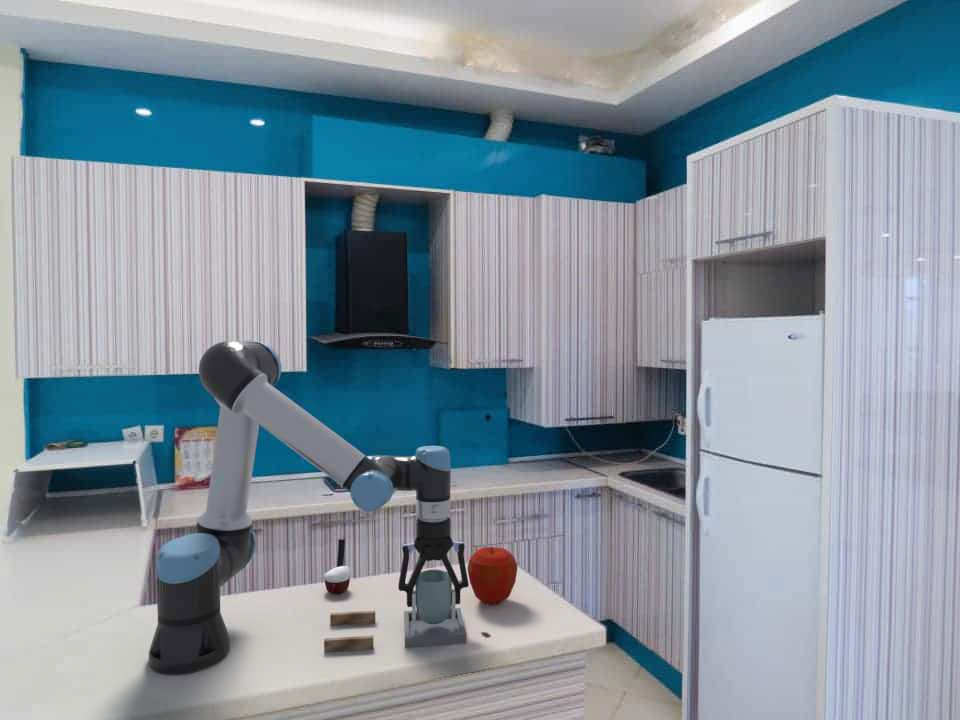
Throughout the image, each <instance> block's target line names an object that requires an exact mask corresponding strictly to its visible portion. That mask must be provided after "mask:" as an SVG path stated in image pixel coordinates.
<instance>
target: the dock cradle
mask: <svg viewBox="0 0 960 720" xmlns="http://www.w3.org/2000/svg"><path fill="white" fill-rule="evenodd" d="M462 613H463V612H462V609H461V607H455V621H452V618H451V609H450V613H449V616H448V617H447V619H446V620H445V621H443V622H441V623H439V624H427V623H425V622H423V621H422V620H421V619H420V618H419V616H418V613H417V609H416V623H412V610H403V623H404V624H403V626H404V627H403V628H404V630H403V631H404V648H414V647H415V648H418V647H430V646H431V647H432V646H433V647H434V646H435V647H436V646H446V645H462V644H463V645H464V644H467V630H466V627H465V622H464V616H463V614H462Z"/></svg>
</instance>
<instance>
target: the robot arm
mask: <svg viewBox="0 0 960 720" xmlns="http://www.w3.org/2000/svg"><path fill="white" fill-rule="evenodd" d="M198 375H199V376H198V377H199V378H200V379H199V380H200V382H201V384H202V386H203V387H204V389H205V390H206V391H207V392H208V393H209V394H210V396H212V397H213V398H214V400H215V401H216V403H217V404H218V405H219V407H220V408H219V416H218V422H217V428H216V430H217V431H216V436H215V437H216V439H215V443H214V450H213V458H212V466H211V473H210V479H209V486H208V487H209V488H208V495H207V500H206V501H207V502H206V507H205V511H204V512H203V513H202V514H201V515H200V516H198V517H197V518H196V519H197V520H196V527H195V533H190V534H185V535H182V536H181V537H176V538H173V539H171V540H169V541H168V542H166V543H165V544H163V545H162V546H161V548H160V549H159V551H158V553H156V554H157V555H156V563H155V564H156V565H155V574H156V600H157V603H156V604H157V605H156V606H157V626H156V628H155V631H154V634H153V638H152V639H151V640H152V641H151V645H150V647H149V650H148V666H149V668H150V669H151V670H152V671H153V672H156V673H159V674H162V675H184V674H188V673H189V674H191V673H194V672H198V671H201V670H202V671H203V670H205V669H207V668H210V667H212V666H214V665H215V664H218V663H219V662H220V661H222V660H224V658H226V657H227V656H228V654H229V653H230V650H231V637H230V633H229V630H228V629H227V627H226V626H227V625H226V623H225V621H224V618H223V616H222V612H221V587H222V586H224V585H225V584H226V583H227V582H229V581H230V580H231V579H232V578H233V577H234V576H236V575H237V574H239V573H240V572H241V571H243V569H245V568H246V566H247V565H248V564H249V563H250V561H251V560H252V558H253V556H254V554H255V551H256V547H257V540H256V534H255V532H254V531H253V530H252V525H253V519H252V518H251V517H250V515H249V514H248V512H247V511H248V506H249V500H250V491H251V484H252V476H253V472H254V471H253V470H254V464H255V463H254V462H255V456H256V449H257V444H258V443H257V442H258V436H259V430H260V429H259V428H260V426H261V427H262V428H263V429H264V430H266V431H267V432H268V433H270V434H271V435H272V436H274V437H276V439H277V440H279V441H281V442H282V443H283V444H285V445H286V446H287V447H289V448H290V449H291V450H293V451H294V452H296V453H297V454H298V455H299V456H301V457H302V458H303V459H304V460H306V461H308V463H310V464H311V465H313V466H314V467H315V468H317V469H318V470H320V472H322V473H324V474H325V475H326V476H328V477H329V478H330V479H332V480H333V481H334V482H335V483H337V484H338V485H340V486H341V487H342V488H344V489H345V490H346V491H347V492H349V493H350V497H351V500H352V502H353V504H354V505H355V506H356V507H357V508H358V509H360V510H362V511H366V512H373V511H376V510H380V509H381V508H382V507H384V506H385V505H386V504H388V503H389V502H390V501H391V499H392V497H393V495H394V494H395V493H396V492H398V491H399V492H400V491H403V492H407V491H408V492H412V491H414V492H415V495H416V496H415V497H416V498H415V506H416V507H415V508H416V509H415V511H416V512H415V513H416V514H415V515H416V517H417V519H416V521H415V523H416V524H415V526H416V527H415V529H416V534H415V535H416V536H415V540H414V542H410V543H408V542H403V543H402V547H401V548H402V554H403V555H402V562H401V568H400V574H399V579H398V591H400V592H405V593H406V607H407V608H411V611H412V623H416V610H417V609H416V592H415V584H416V582H417V579H418V577H419V575H420V573H421V572H422V571H423V568H424V566H425V564H426V562H431V561H442V563H443V565H444V567H445V571H446V572H448V574H449V577H451V581H452V585H453V586H452V599H451V618H452V621H455V608H456V605H460V604H461V590H462V589H464V588H468V587H469V584H470V583H469V577H468V571H467V568H466V563H465V556H464V552H465V548H466V547H465V543H464V541H463V540H461V539H460V540H457V541H455V540H453V539H452V537H451V536H452V534H451V527H452V526H451V518H450V516H451V478H452V477H451V475H452V473H451V472H452V471H451V470H452V466H451V453H450V451H449V449H448V448H447V447H445V446H441V445H425V446H424V445H422V446H420V447H418V448H417V449H416V450H415V455H411V456H410V455H409V456H408V455H407V456H406V455H381V454H376V455H366V454H364V453H362V451H360V450H358V448H356V447H355V446H353V445H352V444H351V443H349V442H348V441H346V439H344V438H343V437H341V436H340V435H339V434H338V433H336V432H334V430H332V429H330V427H328V426H327V425H325V424H324V423H323V422H321V421H320V420H318V419H317V418H316V417H314V416H313V415H312V414H311V413H309V412H308V411H306V410H305V409H304V408H302V407H301V406H300V405H298V404H297V403H296V402H294V401H293V400H292V399H290V398H289V397H288V396H286V394H284V393H282V392H281V391H280V390H278V388H275V385H277V383H278V381H279V380H280V377H281V375H282V362H281V360H280V357H279V355H278V354H277V352H276V351H275V350H274V348H273V347H271V346H270V345H268V344H266V343H264V342H261V341H257V340H250V339H246V340H228V341H227V340H224V341H220V342H218V343H216V344H213V345H212V346H210V347H209V348H207V349H206V351H205V352H204V353H203V355H202V357H201V358H200V360H199V365H198ZM452 547H453V550H454V551H455V552H456V553H457V558H458V559H457V560H458V564H459V571H460V572H459V573H460V577H461V580H459V579H458V576H457V575H456V572H455V570H454V569H453V566H452V564H451V561H450V559H449V557H448V553H449V552H450V551H451V549H452ZM414 549H415V550H416V551H417V552H418V554H419V556H418V559H417V561H416V564H415V565H414V569H412V570H413V571H412V572H411V573H412V574H410V577H409V579H408V583H406V579H407V576H408V575H407V574H408V567H409V561H410V555H412V553H413V550H414Z"/></svg>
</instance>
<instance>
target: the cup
mask: <svg viewBox="0 0 960 720" xmlns="http://www.w3.org/2000/svg"><path fill="white" fill-rule="evenodd" d="M452 585H453V583H452V581H451V577H449V574H448V572H447V570H443V569H435V568H433V569H426V570H421V573H420V575H419V577H418V579H417V582H416V584H415V586H414V589H415V592H416V610H417V613H418V616H419V618H420V619H421V620H422V621H423V622H425V623H427V624H439V623H441V622H443V621H445V620H446V619H447V617H448V616H449V613H450V609H451V599H452V587H453V586H452Z"/></svg>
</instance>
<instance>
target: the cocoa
mask: <svg viewBox="0 0 960 720" xmlns="http://www.w3.org/2000/svg"><path fill="white" fill-rule="evenodd" d="M337 542H338V543H337V561H336V567H333V568H331V569H330V570H329V571H327V572H325V573H324V575H323V578H324V585H325V589H326V591H327V592H328V593H329V594H331V595H335V596H338V595H342V594H344V593H345V592H347V590H349V586H350V581H351V578H350V576H351V568H350V567H349V566H347V565H345V545H346V539H345V538H338V541H337Z"/></svg>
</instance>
